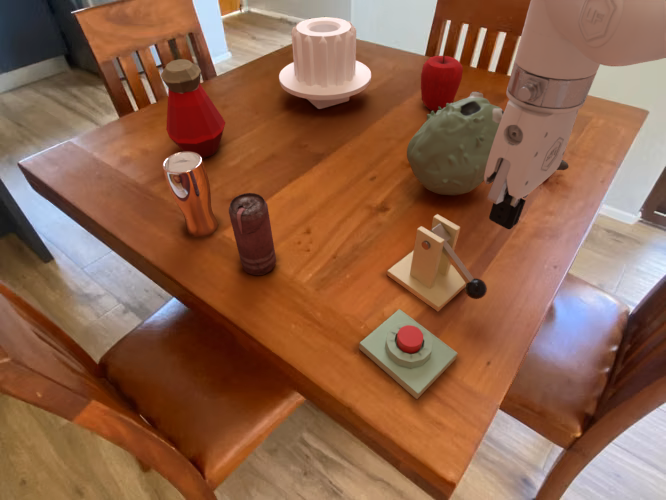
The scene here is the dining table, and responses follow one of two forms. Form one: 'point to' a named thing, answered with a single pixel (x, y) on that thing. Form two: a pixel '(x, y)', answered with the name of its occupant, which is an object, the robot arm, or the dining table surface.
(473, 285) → the switch lever
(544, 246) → the dining table surface
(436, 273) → the switch bracket
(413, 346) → the console button
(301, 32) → the ribbed cylinder on disc
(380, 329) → the grey button base
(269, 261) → the can
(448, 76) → the apple
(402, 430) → the dining table surface
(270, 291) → the dining table surface
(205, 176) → the beer glass
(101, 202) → the dining table surface
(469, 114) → the green rock
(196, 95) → the bottle
